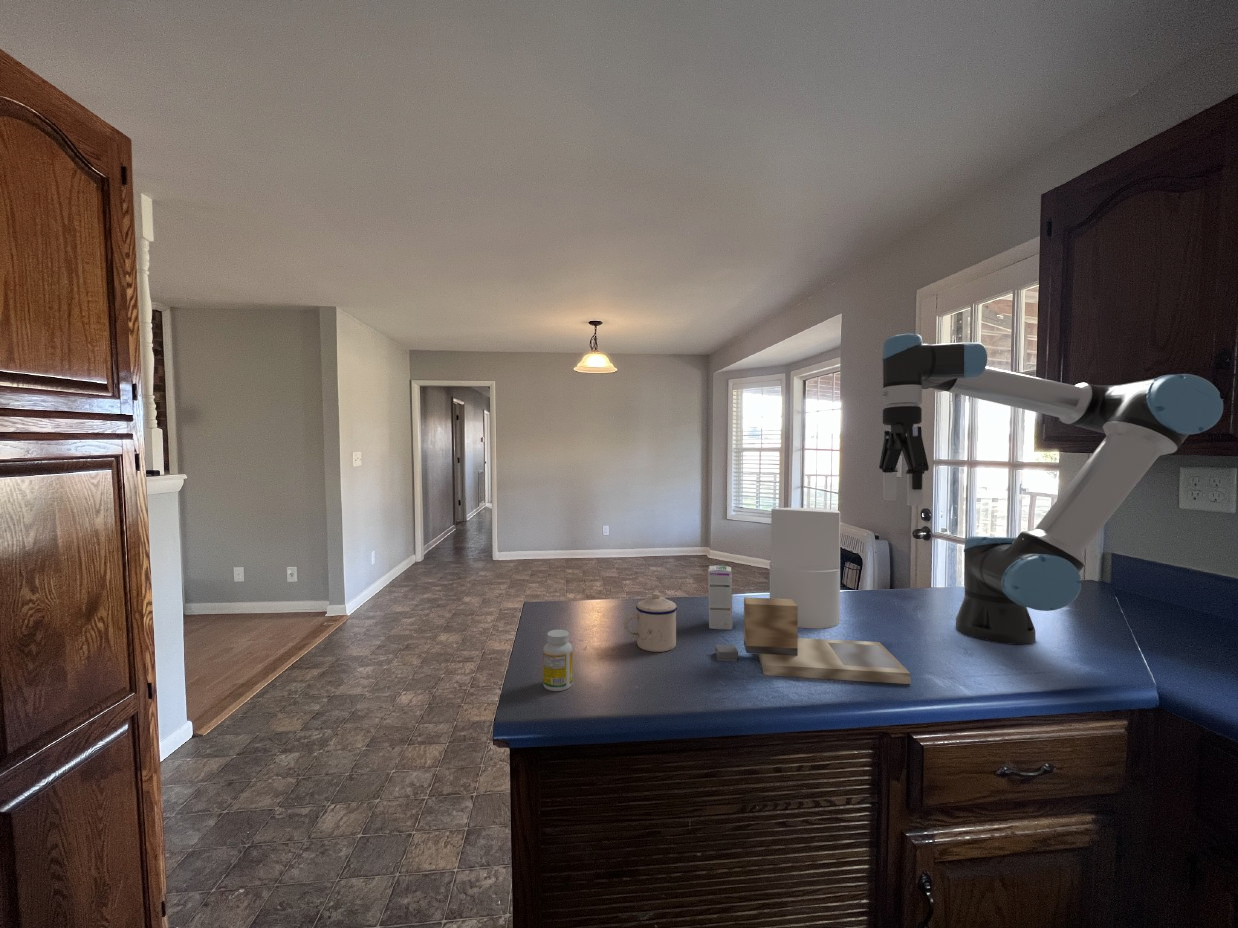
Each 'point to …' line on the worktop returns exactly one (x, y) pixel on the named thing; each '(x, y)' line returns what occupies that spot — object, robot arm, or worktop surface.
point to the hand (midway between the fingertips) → (901, 502)
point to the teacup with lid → (654, 624)
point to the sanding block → (771, 626)
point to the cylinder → (807, 563)
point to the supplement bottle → (557, 661)
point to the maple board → (837, 662)
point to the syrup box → (720, 597)
